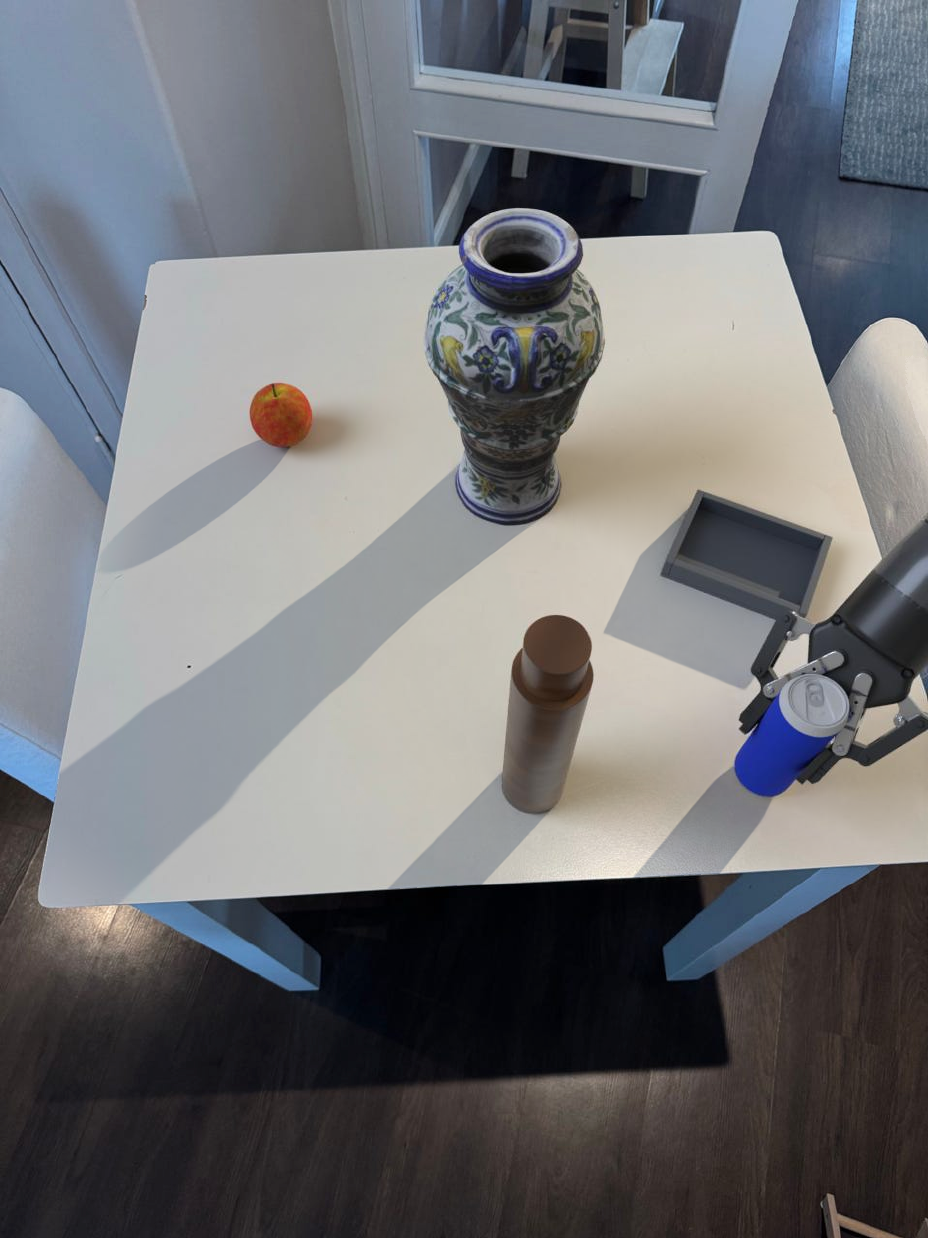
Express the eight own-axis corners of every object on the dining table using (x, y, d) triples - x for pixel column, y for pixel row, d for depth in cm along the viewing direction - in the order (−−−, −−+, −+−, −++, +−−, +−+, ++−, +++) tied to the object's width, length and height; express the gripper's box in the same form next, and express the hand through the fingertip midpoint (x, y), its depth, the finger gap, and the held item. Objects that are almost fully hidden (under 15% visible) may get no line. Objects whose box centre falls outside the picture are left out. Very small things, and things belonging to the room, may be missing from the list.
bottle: (572, 770, 76) (614, 626, 54) (548, 824, 74) (581, 696, 52) (517, 745, 78) (535, 594, 55) (491, 797, 75) (499, 661, 53)
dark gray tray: (824, 551, 89) (833, 536, 87) (798, 628, 84) (806, 615, 82) (692, 503, 92) (697, 488, 90) (659, 575, 87) (664, 561, 85)
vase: (433, 547, 90) (417, 316, 64) (432, 428, 98) (417, 182, 73) (588, 543, 90) (634, 310, 64) (573, 424, 99) (608, 178, 73)
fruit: (321, 453, 97) (309, 402, 90) (261, 464, 96) (245, 414, 89) (311, 410, 100) (300, 358, 93) (253, 421, 99) (237, 369, 92)
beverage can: (795, 799, 75) (860, 732, 62) (737, 799, 75) (790, 731, 62) (784, 745, 77) (845, 670, 64) (728, 745, 77) (777, 669, 64)
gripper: (831, 536, 63) (690, 702, 69) (1007, 662, 57) (837, 831, 63) (846, 540, 69) (716, 692, 75) (1006, 654, 63) (851, 808, 70)
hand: (772, 754), depth 69 cm, fingers closed on beverage can, 5 cm apart
